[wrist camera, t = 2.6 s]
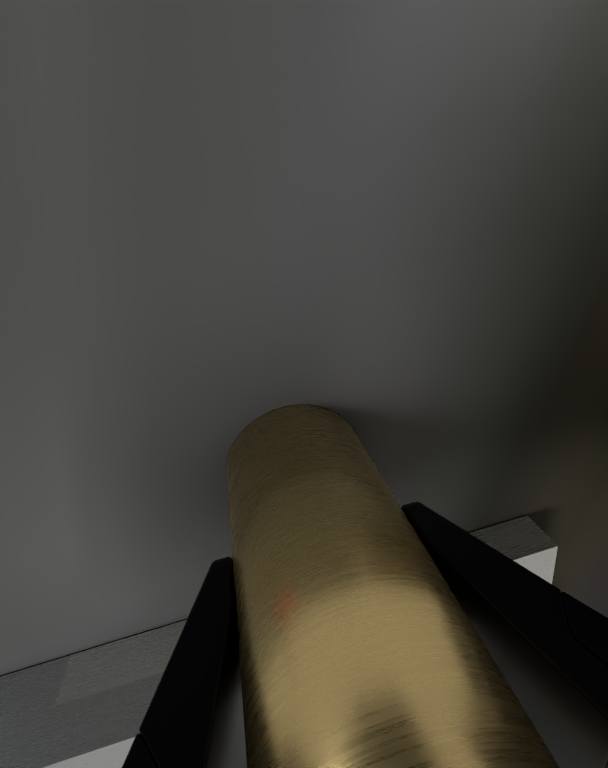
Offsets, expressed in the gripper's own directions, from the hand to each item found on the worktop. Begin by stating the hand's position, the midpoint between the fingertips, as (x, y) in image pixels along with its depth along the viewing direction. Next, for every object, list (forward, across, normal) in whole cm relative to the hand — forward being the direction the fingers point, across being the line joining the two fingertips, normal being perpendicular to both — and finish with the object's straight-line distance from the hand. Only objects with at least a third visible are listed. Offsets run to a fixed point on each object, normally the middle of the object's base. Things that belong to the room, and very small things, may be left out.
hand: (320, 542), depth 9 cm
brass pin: (+3, 0, 0) cm, 3 cm away
